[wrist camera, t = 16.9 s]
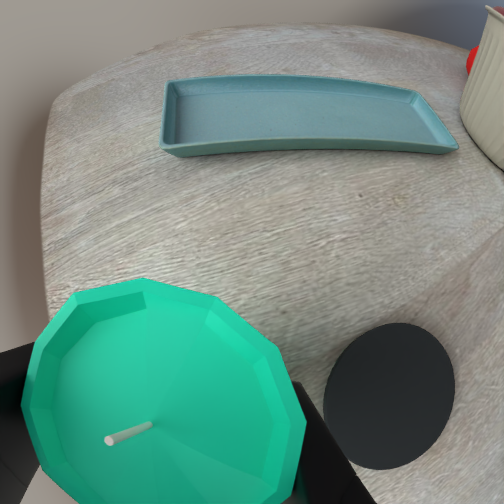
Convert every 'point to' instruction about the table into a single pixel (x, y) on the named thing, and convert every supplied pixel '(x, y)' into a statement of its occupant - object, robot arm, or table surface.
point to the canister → (487, 90)
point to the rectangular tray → (295, 116)
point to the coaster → (389, 396)
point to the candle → (161, 401)
